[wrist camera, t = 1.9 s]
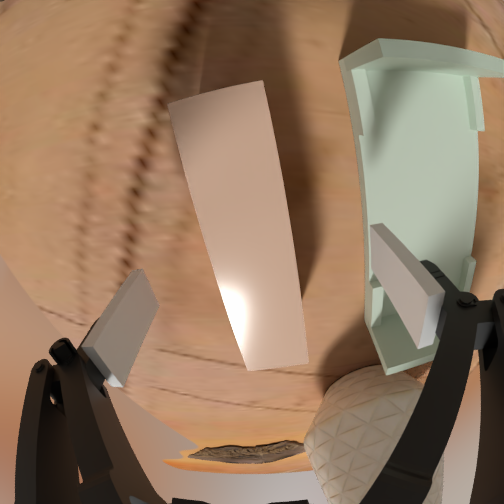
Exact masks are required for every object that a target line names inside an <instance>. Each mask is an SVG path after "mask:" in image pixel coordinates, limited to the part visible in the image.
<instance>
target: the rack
mask: <svg viewBox="0 0 504 504" xmlns="http://www.w3.org/2000/svg"><path fill="white" fill-rule="evenodd" d="M339 65H340V69H341V73H342V78H343V82H344V87H345V91H346V96H347V101H348V106H349V112H350V117H351V123H352V129H353V135H354V142H355V149H356V156H357V164H358V172H359V181H360V191H361V202H362V215H363V231H364V255H365V312H364V320H365V323H366V325H367V328H368V330H369V333H370V335H371V338H372V340H373V343H374V345H375V348H376V350H377V353H378V355H379V358H380V361H381V363H382V366H383V369H384V371H385V374H386V375H390V374H393V373H397V372H400V371H403V370H406V369H410V368H413V367H416V366H419V365H422V364H424V363H427V362H430V361H433V360H434V357H435V354H436V351H437V348H438V345H439V341H440V340H439V338H438V337H437V335H435V338H434V342H433V344H432V345H429V346H426V347H423V348H420V349H417V347H416V345H415V343H414V341H413V339H412V337H411V336H410V334H409V332H408V330H407V328H406V326H405V325H404V323H403V321H402V319H401V318H400V316H399V314H398V312H397V310H396V309H395V307H394V305H393V304H392V302H391V300H390V299H389V297H388V295H387V293H386V292H385V290H384V288H383V287H382V285H381V284H380V282H379V280H378V279H377V277H376V276H375V274H374V272H373V271H372V269H371V242H370V225H373V224H378V223H383V224H384V225H385V226H386V227H387V228H388V229H389V230H390V231H391V232H392V233H393V234H394V235H395V236H396V237H397V238H398V239H399V240H400V241H401V242H402V243H403V244H404V245H405V246H406V247H407V249H408V250H409V251H410V252H411V253H412V254H413V255H414V256H415V257H416V258H417V259H418V260H419V261H422V260H426V259H427V260H428V261H430V262H432V263H434V264H436V265H437V267H438V268H439V269H440V270H441V271H442V272H443V273H444V274H445V276H447V277H448V278H449V280H450V281H451V282H452V283H453V284H454V285H455V286H456V287H457V289H458V290H459V291H460V292H461V291H463V292H470V288H471V284H472V280H473V275H474V270H475V266H476V260H475V259H474V258H473V257H472V256H471V253H472V246H473V239H474V232H475V223H476V213H477V201H478V179H479V154H478V132H477V131H485V128H484V116H483V107H482V99H481V92H480V86H479V80H478V77H500V78H504V60H503V59H500V58H497V57H493V56H490V55H486V54H483V53H479V52H475V51H471V50H466V49H462V48H457V47H452V46H447V45H441V44H435V43H428V42H420V41H411V40H400V39H384V38H378V39H376V40H374V41H372V42H370V43H369V44H367V45H365V46H363V47H361V48H360V49H358V50H356V51H355V52H353V53H351V54H349V55H348V56H346V57H344V58H343V59H341V60H339Z"/></svg>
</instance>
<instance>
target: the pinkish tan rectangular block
mask: <svg viewBox="0 0 504 504" xmlns="http://www.w3.org/2000/svg"><path fill="white" fill-rule="evenodd" d="M167 105H168V110H169V114H170V118H171V122H172V126H173V130H174V134H175V138H176V142H177V146H178V149H179V153H180V157H181V161H182V164H183V168H184V172H185V175H186V179H187V183H188V186H189V190H190V193H191V197H192V201H193V204H194V207H195V211H196V214H197V218H198V221H199V225H200V228H201V231H202V235H203V238H204V241H205V245H206V248H207V251H208V254H209V257H210V261H211V264H212V267H213V270H214V273H215V277H216V280H217V283H218V286H219V289H220V292H221V295H222V298H223V301H224V304H225V307H226V310H227V313H228V316H229V319H230V322H231V325H232V328H233V331H234V334H235V336H236V339H237V342H238V345H239V348H240V351H241V353H242V356H243V359H244V362H245V365H246V367H247V370H248V371H255V370H264V369H272V368H280V367H287V366H294V365H301V364H307V363H309V359H308V350H307V341H306V332H305V324H304V315H303V308H302V300H301V292H300V285H299V278H298V270H297V264H296V257H295V250H294V243H293V237H292V231H291V224H290V218H289V212H288V206H287V200H286V195H285V189H284V183H283V178H282V172H281V167H280V161H279V156H278V151H277V146H276V141H275V136H274V131H273V126H272V121H271V116H270V111H269V107H268V102H267V97H266V93H265V88H264V84H263V80H261V81H255V82H250V83H245V84H240V85H235V86H230V87H226V88H222V89H218V90H214V91H210V92H206V93H202V94H198V95H195V96H191V97H188V98H184V99H181V100H178V101H174V102H171V103H168V104H167Z"/></svg>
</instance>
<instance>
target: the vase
mask: <svg viewBox="0 0 504 504" xmlns="http://www.w3.org/2000/svg"><path fill="white" fill-rule="evenodd" d="M424 385H425V384H423V383H421V382H420V381H418V380H417V379H415V378H413V377H412V376H410V375H408V374H407V373H405V372H403V371H400V372H397V373H393V374H390V375H386V374H385V371H384V369H383V366H382V365H373V366H368V367H364V368H361V369H358V370H356V371H353V372H351V373H349V374H347V375H345V376H343V377H342V378H340V379H339V380H337V381H336V382H335V383H333V384H332V385H331V386H330V387H329V389H328V390H327V392H326V393H325V396H324V398H323V400H322V402H321V404H320V407H319V409H318V411H317V413H316V415H315V417H314V419H313V421H312V423H311V425H310V427H309V429H308V431H307V433H306V435H305V438H304V449H305V451H306V454H307V456H308V458H309V460H310V463H311V465H312V467H313V470H314V472H315V474H316V476H317V479H318V481H319V483H320V485H321V487H322V490H323V492H324V494H325V496H326V498H327V501H328V503H329V504H359V503H360V502H361V500H362V499H363V498H364V496H365V495H366V493H367V492H368V491H369V489H370V488H371V486H372V485H373V483H374V482H375V480H376V479H377V477H378V475H379V474H380V472H381V471H382V469H383V467H384V466H385V464H386V462H387V461H388V459H389V457H390V456H391V454H392V452H393V450H394V449H395V447H396V445H397V443H398V441H399V439H400V437H401V435H402V434H403V432H404V430H405V428H406V426H407V423H408V421H409V419H410V417H411V415H412V413H413V411H414V408H415V406H416V404H417V402H418V399H419V397H420V395H421V392H422V390H423V387H424ZM443 472H444V452H443V454H442V457H441V459H440V461H439V464H438V466H437V468H436V470H435V472H434V475H433V478H432V485H431V488H430V490H429V492H428V494H427V496H426V498H425V500H424V502H423V503H422V504H441V501H442V491H443Z"/></svg>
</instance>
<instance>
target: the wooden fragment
mask: <svg viewBox="0 0 504 504" xmlns="http://www.w3.org/2000/svg"><path fill="white" fill-rule="evenodd" d="M303 452H306V451H305V449H304V444H302V443H296V442H290V441H284V442H280V443H278V444H271V445H268V446H264V445H263V446H256V447H246V448H244V447H224V448H216V449H214V448H204V449H203V450H200V451H199V452H197V453H195V454H193V455H189V456H188V458H195V459H201V460H209V461H219V462H226V463H247V464H251V463H255V464H259V463H260V464H262V463H267V462H273V461H277V460H280V459H284V458H287V457H290V456H293V455H296V454H300V453H303Z"/></svg>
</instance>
